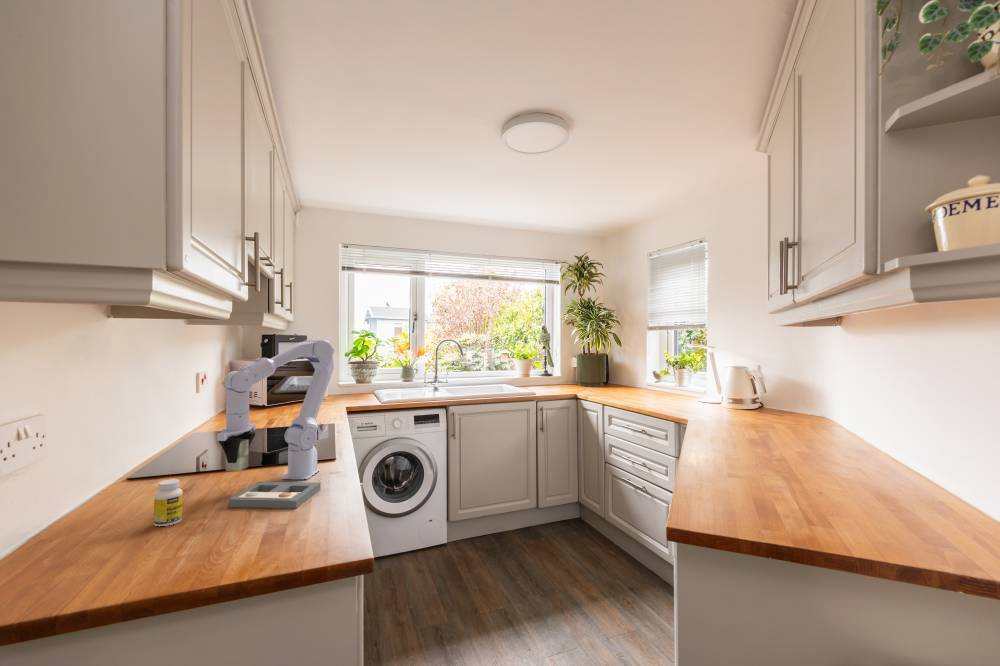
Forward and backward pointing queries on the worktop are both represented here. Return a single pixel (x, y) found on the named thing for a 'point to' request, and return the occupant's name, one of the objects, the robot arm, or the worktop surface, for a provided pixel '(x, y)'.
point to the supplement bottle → (168, 503)
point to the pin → (240, 458)
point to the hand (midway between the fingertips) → (237, 460)
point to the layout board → (275, 495)
